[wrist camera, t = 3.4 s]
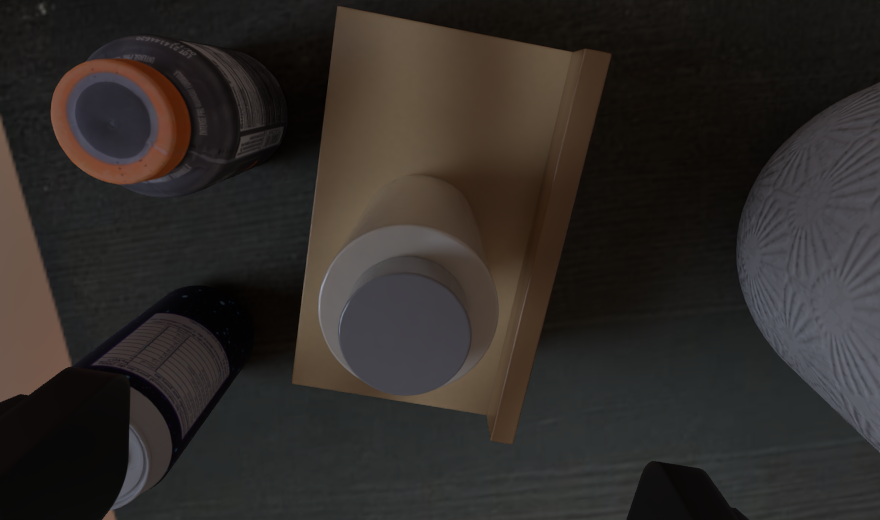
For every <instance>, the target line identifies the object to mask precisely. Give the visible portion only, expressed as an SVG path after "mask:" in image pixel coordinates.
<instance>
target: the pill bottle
mask: <svg viewBox="0 0 880 520" xmlns="http://www.w3.org/2000/svg"><path fill="white" fill-rule="evenodd" d="M51 121H52V125H53V129H54V132H55V135H56V138H57V140H58V142H59V144H60V146H61V148H62V149H63V150H64V152H65V153H66V154H67V156H68V157H69V158H70V160H71V161H72V162H73V163H74V164H76V165H77V166H78V167H79V168H80V169H82V170H83V171H84V172H86V173H87V174H89V175H91V176H93V177H95V178H97V179H99V180H102V181H105V182H110V183H114V184H119V185H121V186H123V187H125V188H127V189H129V190H132V191H134V192H137V193H140V194H143V195H147V196H153V197H164V198H169V197H179V196H185V195H188V194H191V193H194V192H197V191H199V190H202V189H205V188H207V187H209V186H211V185H213V184H216V183H218V182H221V181H223V180H226V179H228V178H230V177H233V176H235V175H238V174H239V173H242V172H244V171H246V170H248V169H251V168H253V167H255V166H257V165H259V164H260V163H262V162H264V161H266V160H267V159H268V158H270V157H271V156H272V155H273V154H274V152H275V151H276V150H277V149H278V148H279V146H280V144H281V142H282V141H283V139H284V136H285V133H286V130H287V124H288V108H287V102H286V99H285V95H284V93H283V91H282V89H281V87H280V85H279V83H278V81H277V79H276V78H275V76H274V75H273V74H272V73H271V72H270V71H269V70H268V69H267V68H266V67H265V66H264V65H263V64H262V63H260V62H259V61H258V60H256V59H254V58H252V57H251V56H249V55H247V54H244V53H241V52H238V51H235V50H232V49H227V48H222V47H217V46H211V45H206V44H201V43H195V42H190V41H184V40H179V39H173V38H169V37H162V36H157V35H145V34H141V35H131V36H126V37H122V38H119V39H116V40H114V41H111V42H109V43H108V44H106V45H104V46H102V47H101V48H99V49H98V50H97V51H95V52H94V53H93V54H92V55H91V56H90V57H89V58H88V60H87V61H86V62H84V63H82V64H80V65H77V66H76V67H74V68H73V69H72V70H70V71H69V72H67V73H66V74H65V75H64V77H63V78H62V79H61V80H60V82H59V84H58V85H57V87H56V89H55V91H54V94H53V98H52V104H51Z"/></svg>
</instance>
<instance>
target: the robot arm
mask: <svg viewBox="0 0 880 520" xmlns="http://www.w3.org/2000/svg"><path fill="white" fill-rule="evenodd" d="M130 393H131V391H130V382H129V379H128V378H127V377H126V376H125V375H122V374H117V373H110V372H104V371H98V370H92V369H85V368H79V367H68V368H66V369H64V370H63V371H61V372H60V373H58V374H57V375H56V376H55V377H53V378H52V379H50V380H49V381H48V382H46V383H45V384H43V385H42V386H41V387H40V388H38V389H37V390H35V391H34V392H33V393H31V394H30V395H22V394H20V395H17V396H15V397H13V398H10V399H7V400H5V401H2V402H0V520H102V519H103V518H104V516H105V515H106V514H107V513H108V511H109V510H110V509H111V507H112V506H113V505H114V503H115V501H116V500H117V498H118V496H119V494H120V491H121V489H122V487H123V484H124V481H125V478H126V474H127V469H128V460H129V427H130ZM627 520H749V519H748V518H747V517H745V516H744V515H743V514H742V513H741V512H740V511H738V510H737V509H736V508H731V507H730V506H729V504H728V503H727V501H726V500H725V499H724V497H723V496H722V494H721V493H720V491H719V490H718V489H717V487H716V486H715V484H714V483H713V481H712V480H711V478H710V477H709V476H708V474H707V473H706V472H705V471H704V470H702V469H700V468H694V467H687V466H681V465H675V464H669V463H662V462H656V461H652V462H650V463H648V464H647V465H646V467H645V468H644V470H643V473H642V475H641V478H640V481H639V484H638V487H637V490H636V493H635V496H634V499H633V502H632V505H631V508H630V511H629V514H628V517H627Z"/></svg>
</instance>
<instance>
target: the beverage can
mask: <svg viewBox="0 0 880 520" xmlns="http://www.w3.org/2000/svg"><path fill="white" fill-rule="evenodd" d="M253 345H254V332H253V327H252V324H251V321H250V319H249V317H248V315H247V313H246V312H245V310H244V309H243V308H242V306H241V305H240V304H239V303H238V302H237V301H236V300H234V299H233V298H232V297H230V296H229V295H227V294H226V293H224V292H222V291H219V290H217V289H214V288H210V287H206V286H187V287H183V288H180V289H177V290H175V291H173V292H171V293H169V294H168V295H167V296H165V297H164V298H163V299H161V300H160V301H159V302H157V303H156V304H155V305H153V306H152V307H151V308H149V309H148V310H147V311H145V312H144V313H143V314H141V315H140V316H139V317H137V318H136V319H135V320H133V321H132V322H131V323H129V324H128V325H127V326H125V327H124V328H123V329H121V330H120V331H119V332H117V333H116V334H115V335H113V336H112V337H111V338H109V339H108V340H107V341H105V342H104V343H103V344H101V345H100V346H99V347H97V348H96V349H95V350H93V351H92V352H91V353H89V354H88V355H87V356H85V357H84V358H83V359H81V360H80V361H79V362H77V363H76V364H75V365H73V366H72V367H79V368H85V369H92V370H98V371H104V372H110V373H117V374H122V375H125V376H126V377H127V378H128V379H129V382H130V391H131V393H130V427H129V460H128V469H127V474H126V478H125V481H124V484H123V487H122V489H121V491H120V494H119V496H118V498H117V500H116V501H115V503H114V505H113V506H112V507H111V509H110V510H113V509H116V508H119V507H122V506H124V505H126V504H128V503H129V502H131V501H132V500H133V499H135V498H136V497H137V496H138V495H139V494H141V493H143V492H145V491H147V490H149V489H151V488H152V487H154V486H155V485H157V484H158V483H159V482H160V481H161V480H162V479H163V478H164V477H165V476H166V475H167V473H168V472H169V471H170V469H171V468H172V466H173V465H174V463H175V462H176V461H177V459H178V458H179V456H180V455H181V454H182V452H183V451H184V449H185V448H186V447H187V445H188V444H189V442H190V441H191V439H192V438H193V437H194V435H195V434H196V432H197V431H198V430H199V428H200V427H201V425H202V424H203V423H204V421H205V420H206V418H207V417H208V416H209V414H210V413H211V411H212V410H213V408H214V407H215V406H216V404H217V403H218V401H219V400H220V399H221V397H222V396H223V394H224V393H225V392H226V390H227V389H228V387H229V386H230V385H231V383H232V382H233V380H234V379H235V377H236V376H237V375H238V373H239V372H240V370H241V369H242V368H243V366H244V365H245V363H246V362H247V360H248V359H249V357H250V355H251V353H252V350H253Z"/></svg>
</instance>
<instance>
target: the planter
mask: <svg viewBox="0 0 880 520" xmlns="http://www.w3.org/2000/svg"><path fill="white" fill-rule="evenodd" d="M736 258H737V270H738V276H739V281H740V285H741V289H742V292H743V295H744V298H745V301H746V304H747V306H748V308H749V310H750V313H751V315H752V317H753V319H754V321H755V322H756V324H757V326H758V327H759V329H760V331H761V332H762V334H763V335H764V337H765V338H766V340H767V341H768V342H769V344H770V345H771V346H772V347H773V349H774V350H775V351H776V352H777V354H778V355H779V356H780V357H781V358H782V359H783V360H784V361H785V362H786V363H787V364H788V365H789V366H790V367H791V368H792V369H793V370H794V371H795V372H796V373H797V374H798V375H799V376H800V377H801V378H802V379H803V380H804V381H805V382H806V383H808V384H809V385H810V386H811V387H812V388H813V389H814V390H815V391H816V392H817V393H818V394H819V395H820V396H821V397H822V398H823V399H824V400H825V401H826V402H827V403H829V404H830V405H831V406H832V407H833V408H834V409H835V410H836V411H837V412H838V413H839V414H840V415H841V416H842V417H843V418H844V419H845V420H846V421H847V422H848V423H850V424H851V425H852V426H853V427H854V428H855V429H856V430H857V431H858V432H859V433H860V434H861V435H862V436H863V437H864V438H865V439H866V440H867V441H868V442H869V443H871V444H872V445H873V446H874V447H875V448H876V449H877V450H878V451H879V452H880V83H878V84H875V85H873V86H871V87H868V88H866V89H863V90H861V91H859V92H856V93H854V94H852V95H850V96H848V97H846V98H844V99H842V100H840V101H839V102H837V103H835V104H833V105H831V106H830V107H828V108H827V109H825V110H824V111H822V112H820V113H819V114H817V115H816V116H814V117H813V118H812V119H810V120H809V121H808V122H806V123H805V124H804V125H803V126H801V127H800V128H799V129H798V130H797V131H796V132H794V133H793V134H792V135H791V136H790V137H789V138H788V139H787V140H786V141H785V142H784V143H783V144H782V145H781V146H780V147H779V148H778V150H777V151H776V152H775V153H774V154H773V155H772V156H771V158H770V159H769V160H768V162H767V163H766V165H765V166H764V167H763V169H762V170H761V172H760V174H759V175H758V177H757V179H756V180H755V182H754V184H753V186H752V188H751V190H750V192H749V194H748V196H747V199H746V202H745V205H744V207H743V210H742V214H741V218H740V221H739V227H738V233H737V245H736Z"/></svg>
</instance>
